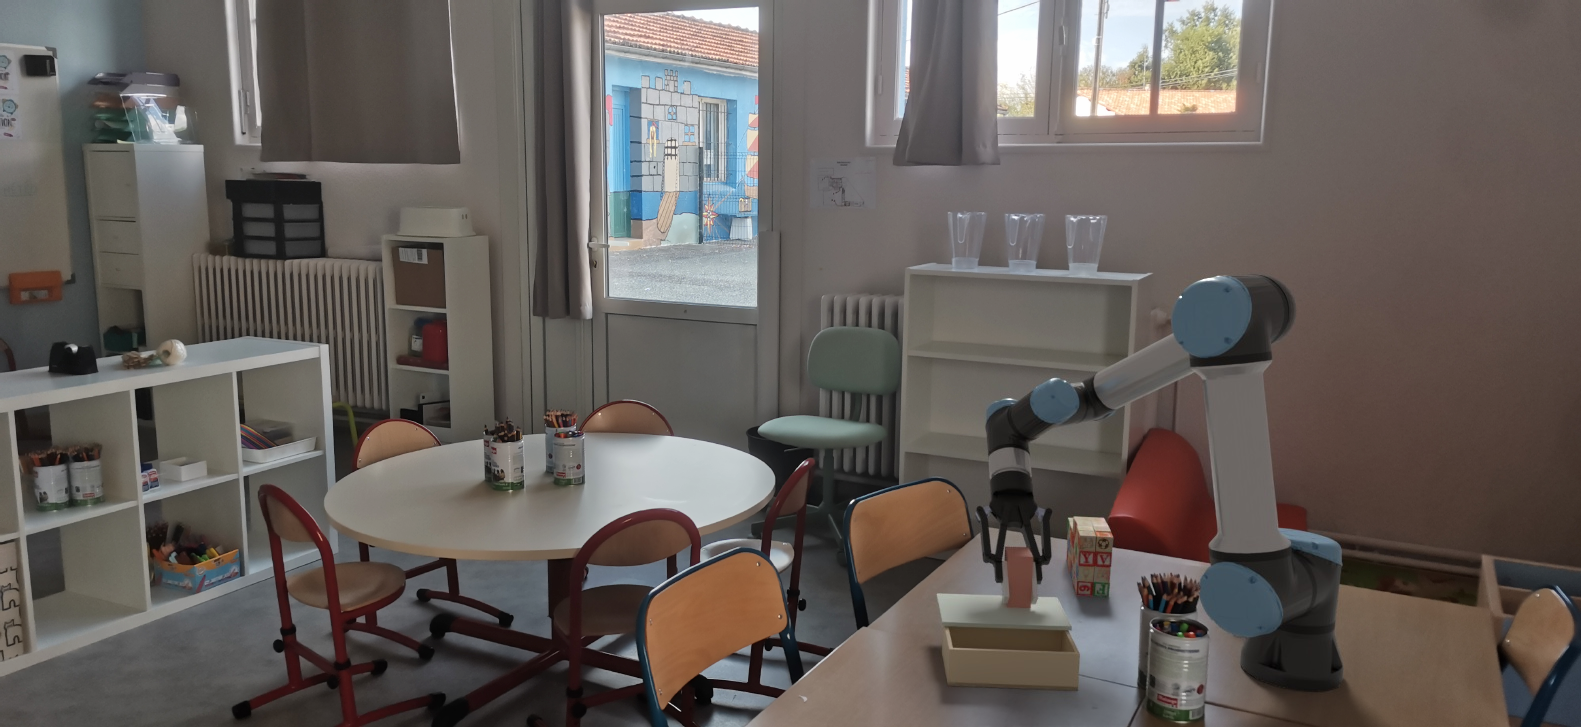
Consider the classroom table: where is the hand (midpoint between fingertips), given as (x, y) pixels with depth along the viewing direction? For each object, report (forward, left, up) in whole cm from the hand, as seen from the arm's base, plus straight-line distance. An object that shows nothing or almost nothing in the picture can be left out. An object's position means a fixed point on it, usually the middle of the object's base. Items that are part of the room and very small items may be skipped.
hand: (1020, 600), depth 181 cm
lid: (+3, 0, -3) cm, 4 cm away
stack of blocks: (-19, -37, -9) cm, 42 cm away
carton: (+3, +9, -9) cm, 13 cm away
